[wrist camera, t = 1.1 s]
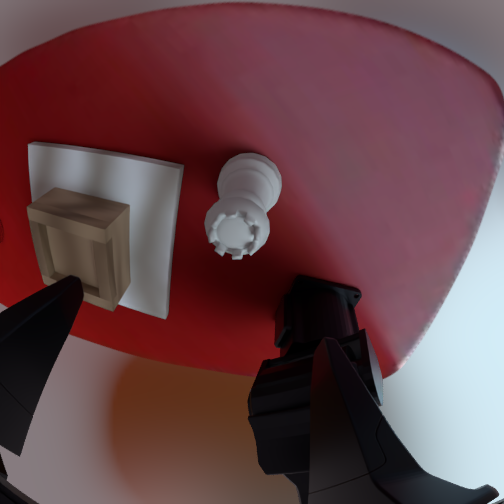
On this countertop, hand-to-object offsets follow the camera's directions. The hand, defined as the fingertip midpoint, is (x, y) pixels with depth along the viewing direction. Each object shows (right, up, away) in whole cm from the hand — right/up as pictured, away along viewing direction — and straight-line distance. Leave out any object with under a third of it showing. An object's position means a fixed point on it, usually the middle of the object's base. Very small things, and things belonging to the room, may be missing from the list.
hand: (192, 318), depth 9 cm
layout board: (-13, +4, +14) cm, 19 cm away
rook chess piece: (+2, +7, +11) cm, 13 cm away
